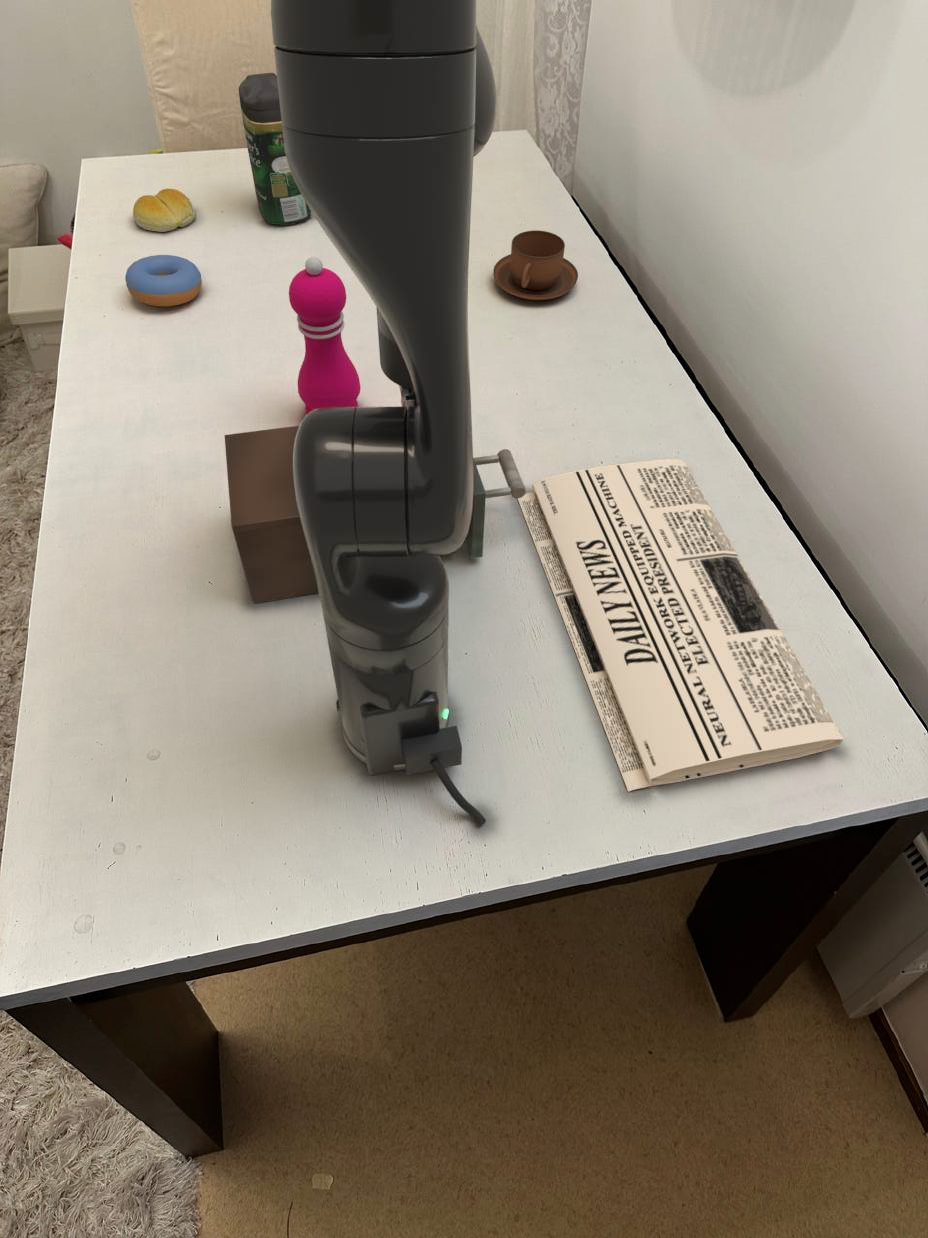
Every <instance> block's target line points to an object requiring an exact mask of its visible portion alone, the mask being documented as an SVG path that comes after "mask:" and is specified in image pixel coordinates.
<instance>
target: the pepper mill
mask: <svg viewBox="0 0 928 1238" xmlns="http://www.w3.org/2000/svg"><path fill="white" fill-rule="evenodd" d="M323 266H324V265H323V262H322V260H321V259H320V258H319V257H317V256H310V257H308V258H307V259H306V260H305V263H304V267H305V268H304V269H302V270H300V271H299V272H298V273H296V274H295V275H294V276H293V278H292V279H291V282H290V284H289V287H288V298H289V299H288V300H289V304H290V307H291V308H292V310H293V311H294V312H295V314H296V315H297V316H296V321H297V329H298V330H299V332H300V333H301V334H302V335H303V338H304V349H305V350H304V351H305V352H304V358H303V361H302V363H301V365H300V368H299V371H298V377H297V393H298V396H299V398H300V400H301V401H302V403H303V404H304V411H305V416H306V415H307V414H308V413H310V412H311V411H313V410H315V409H317V408H324V407H359V402H358V400H357V399H358V398H359V395H360V394H361V382H360V376H359V373H358V371H357V369H356V367H355V364H354V363H353V362H352V360H351V358H350V356H349V355H348V352H347V351H346V349H345V347H344V343H343V337H342V331H343V330H344V328H345V320H344V318H345V317H344V316H345V315H344V312H343V310H344V309H345V306H346V302H347V291H346V287H345V285H344V282H343V279H341V278H340V276H339V275H338V274H337V273H336V272H335V271H333V270H331V269H329V268H326V267H323Z"/></svg>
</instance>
